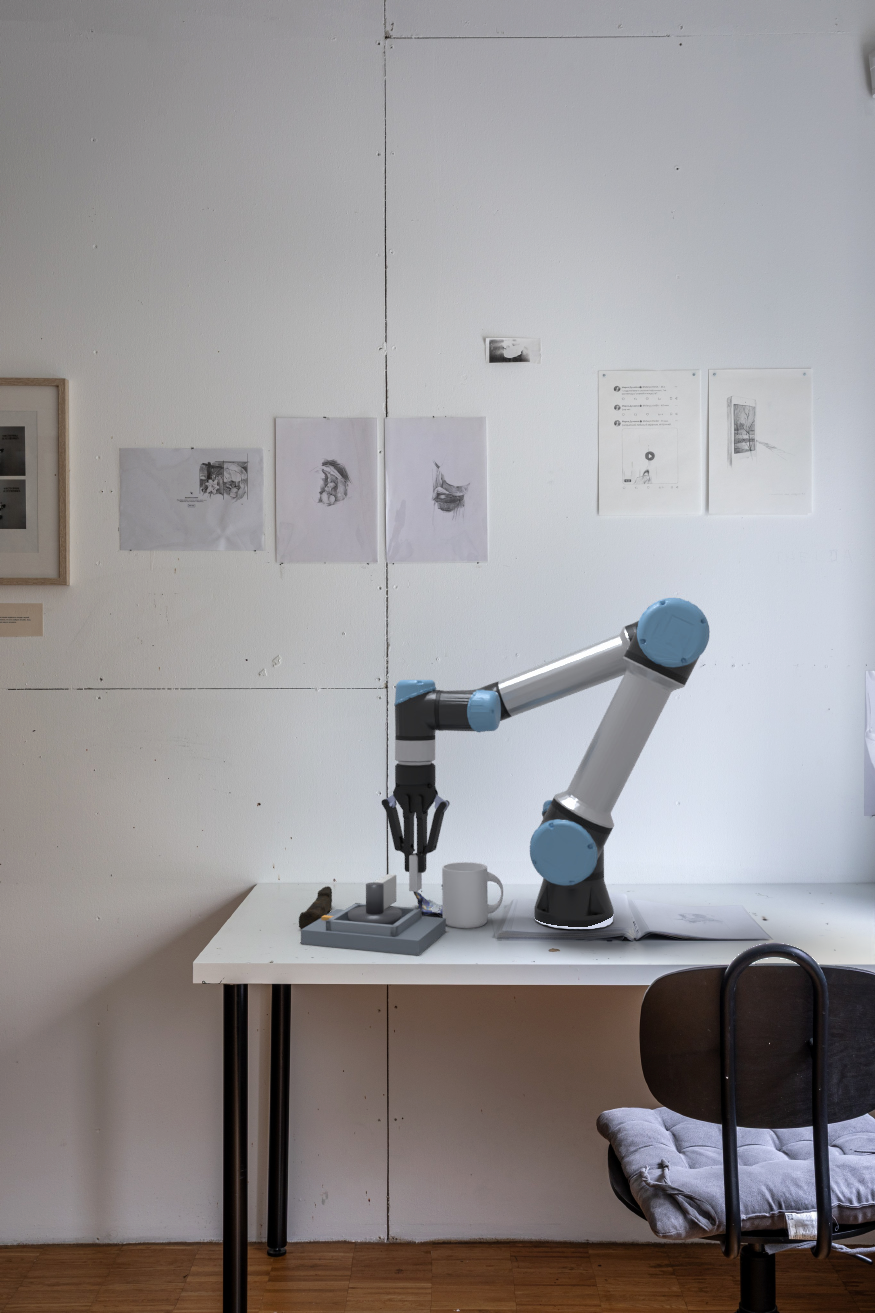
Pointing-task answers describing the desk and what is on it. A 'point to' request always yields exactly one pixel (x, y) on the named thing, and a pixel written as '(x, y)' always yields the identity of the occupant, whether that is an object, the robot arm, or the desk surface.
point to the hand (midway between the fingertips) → (415, 889)
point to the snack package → (427, 905)
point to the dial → (378, 903)
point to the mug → (467, 894)
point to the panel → (375, 932)
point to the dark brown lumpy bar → (317, 908)
